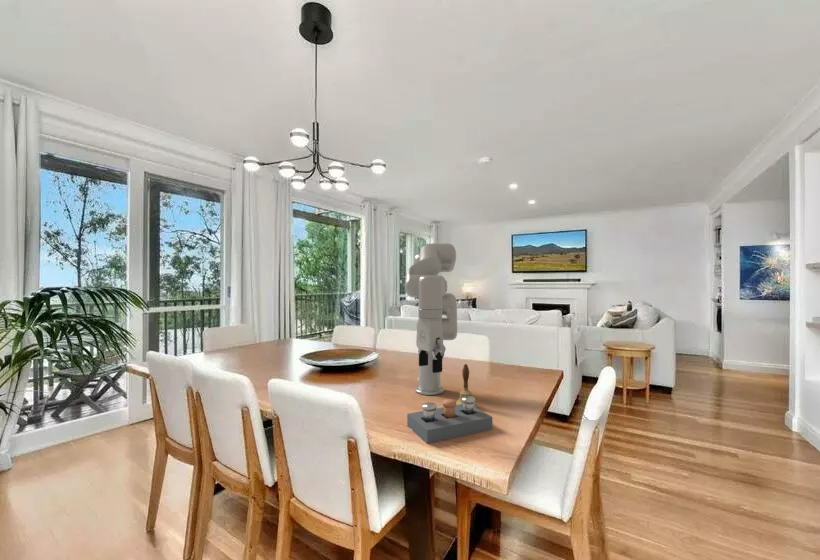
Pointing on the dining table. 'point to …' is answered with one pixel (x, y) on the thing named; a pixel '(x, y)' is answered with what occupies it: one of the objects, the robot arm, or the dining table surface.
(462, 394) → the hand bell
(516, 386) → the dining table surface
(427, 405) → the ball
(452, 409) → the peach grooved knob
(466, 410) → the silver rounded piece
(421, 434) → the panel
